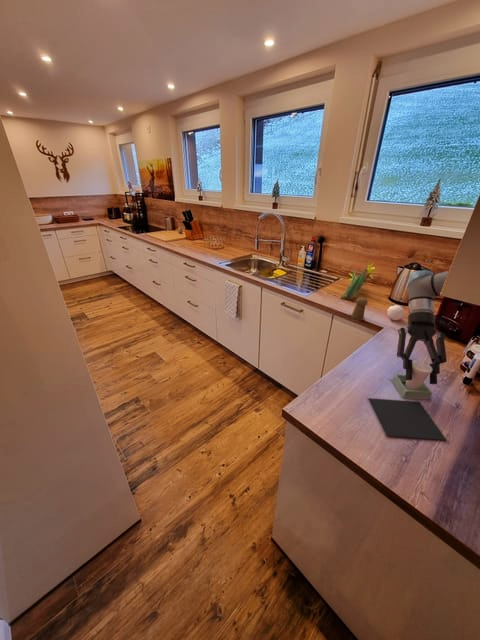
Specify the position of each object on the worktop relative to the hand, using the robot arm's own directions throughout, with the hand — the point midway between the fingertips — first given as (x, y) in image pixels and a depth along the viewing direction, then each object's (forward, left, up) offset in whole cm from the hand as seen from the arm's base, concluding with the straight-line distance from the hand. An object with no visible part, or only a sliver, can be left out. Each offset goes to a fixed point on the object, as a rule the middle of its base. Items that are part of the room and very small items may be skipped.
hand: (421, 381), depth 84 cm
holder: (0, -4, -7) cm, 8 cm away
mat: (+8, +9, -7) cm, 14 cm away
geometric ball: (-18, -57, -7) cm, 60 cm away
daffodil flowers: (-10, -90, -7) cm, 91 cm away
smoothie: (-1, -4, -6) cm, 7 cm away
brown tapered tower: (+1, -56, -7) cm, 56 cm away
